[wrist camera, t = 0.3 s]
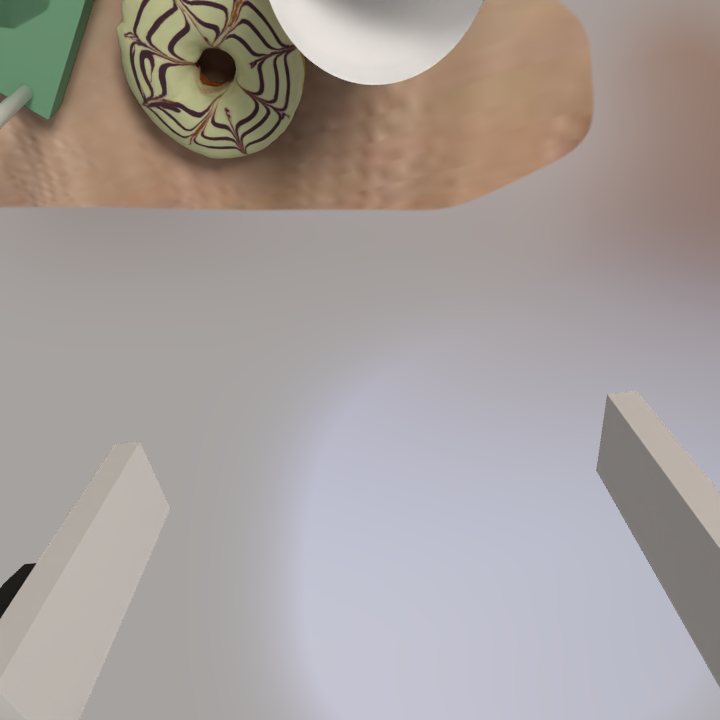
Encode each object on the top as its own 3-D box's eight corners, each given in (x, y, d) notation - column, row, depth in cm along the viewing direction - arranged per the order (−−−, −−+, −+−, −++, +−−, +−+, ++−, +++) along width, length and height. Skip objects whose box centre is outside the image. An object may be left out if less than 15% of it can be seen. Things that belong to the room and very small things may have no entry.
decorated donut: (115, 91, 33) (96, 116, 30) (154, -102, 26) (133, -90, 24) (265, 165, 37) (260, 192, 34) (333, 15, 30) (332, 35, 28)
